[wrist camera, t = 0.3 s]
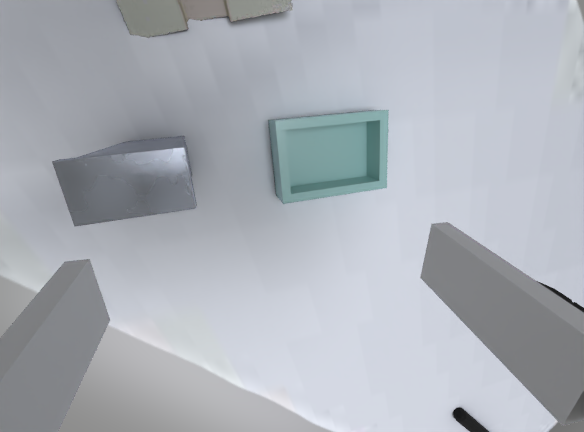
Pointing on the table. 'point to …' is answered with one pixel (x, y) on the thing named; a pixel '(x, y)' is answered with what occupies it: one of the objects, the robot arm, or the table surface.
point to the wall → (190, 13)
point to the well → (329, 154)
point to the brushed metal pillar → (127, 181)
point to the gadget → (468, 421)
